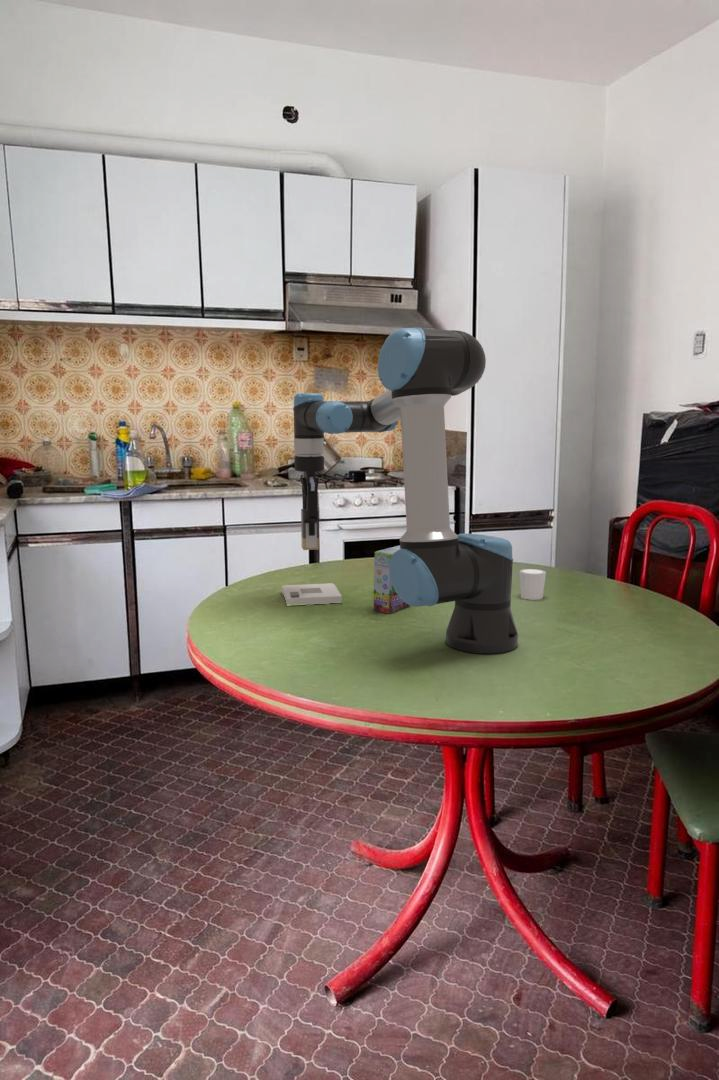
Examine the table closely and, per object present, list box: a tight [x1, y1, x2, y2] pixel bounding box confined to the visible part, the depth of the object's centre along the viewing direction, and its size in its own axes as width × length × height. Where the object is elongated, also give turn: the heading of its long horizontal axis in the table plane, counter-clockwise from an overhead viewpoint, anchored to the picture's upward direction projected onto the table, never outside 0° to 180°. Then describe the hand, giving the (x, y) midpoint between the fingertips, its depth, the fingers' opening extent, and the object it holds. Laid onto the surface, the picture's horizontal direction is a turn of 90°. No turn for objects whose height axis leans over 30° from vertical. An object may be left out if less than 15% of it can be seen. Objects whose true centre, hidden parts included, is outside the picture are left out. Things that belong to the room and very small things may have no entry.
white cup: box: [519, 568, 547, 601], centre depth 198 cm, size 7×7×7 cm
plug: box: [300, 508, 320, 551], centre depth 195 cm, size 4×4×10 cm
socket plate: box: [281, 582, 343, 605], centre depth 198 cm, size 14×14×3 cm
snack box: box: [372, 544, 411, 615], centre depth 191 cm, size 21×6×15 cm, turn 143°
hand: (310, 545), depth 196 cm, fingers closed on plug, 4 cm apart
